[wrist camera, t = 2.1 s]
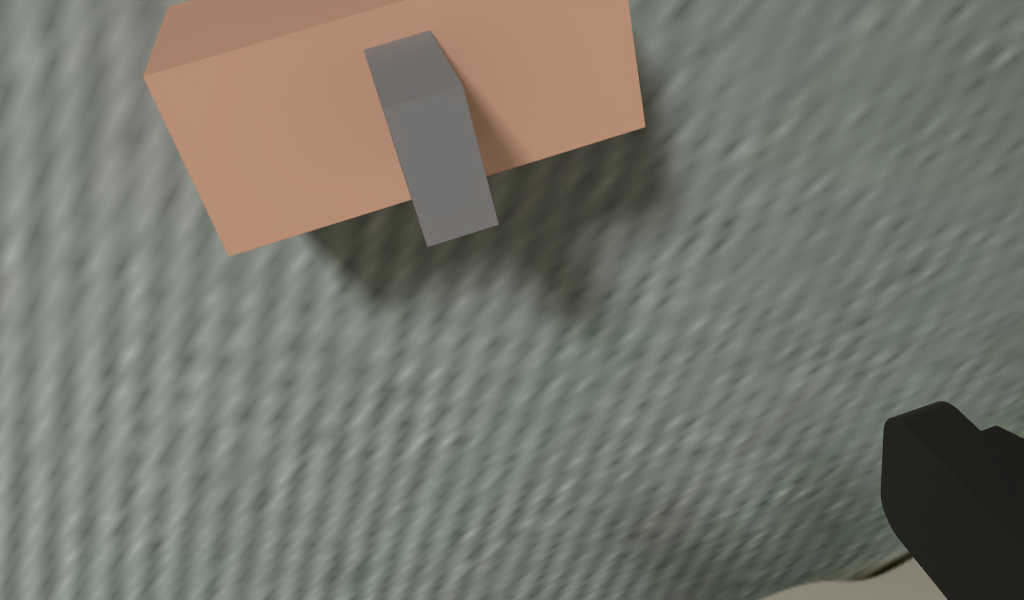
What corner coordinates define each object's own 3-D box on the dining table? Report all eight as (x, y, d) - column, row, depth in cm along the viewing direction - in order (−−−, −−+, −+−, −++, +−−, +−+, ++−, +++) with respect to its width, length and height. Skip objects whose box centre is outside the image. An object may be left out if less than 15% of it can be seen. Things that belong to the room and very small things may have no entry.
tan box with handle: (545, -102, 32) (689, -26, 21) (573, 56, 35) (710, 190, 24) (168, 6, 31) (118, 144, 20) (235, 158, 34) (223, 345, 23)
